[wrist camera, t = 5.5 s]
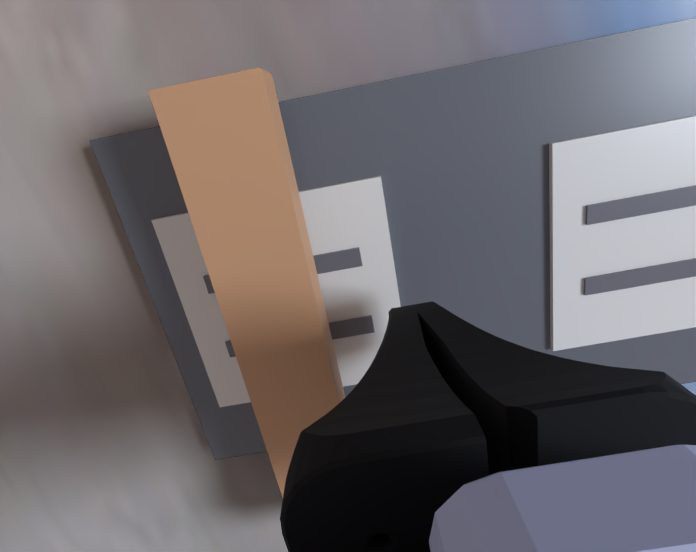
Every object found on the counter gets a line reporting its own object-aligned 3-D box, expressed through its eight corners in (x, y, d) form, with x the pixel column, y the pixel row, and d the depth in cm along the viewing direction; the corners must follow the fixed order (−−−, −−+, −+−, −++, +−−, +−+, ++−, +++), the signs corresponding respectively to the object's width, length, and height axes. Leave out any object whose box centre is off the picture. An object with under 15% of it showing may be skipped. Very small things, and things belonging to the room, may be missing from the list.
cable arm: (387, 537, 15) (393, 579, 14) (305, 549, 15) (302, 592, 14) (288, 72, 10) (279, 63, 8) (159, 98, 10) (129, 94, 8)
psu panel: (749, 357, 16) (778, 374, 14) (220, 444, 16) (212, 465, 15) (821, -6, 11) (870, -19, 10) (104, 139, 12) (83, 140, 11)
